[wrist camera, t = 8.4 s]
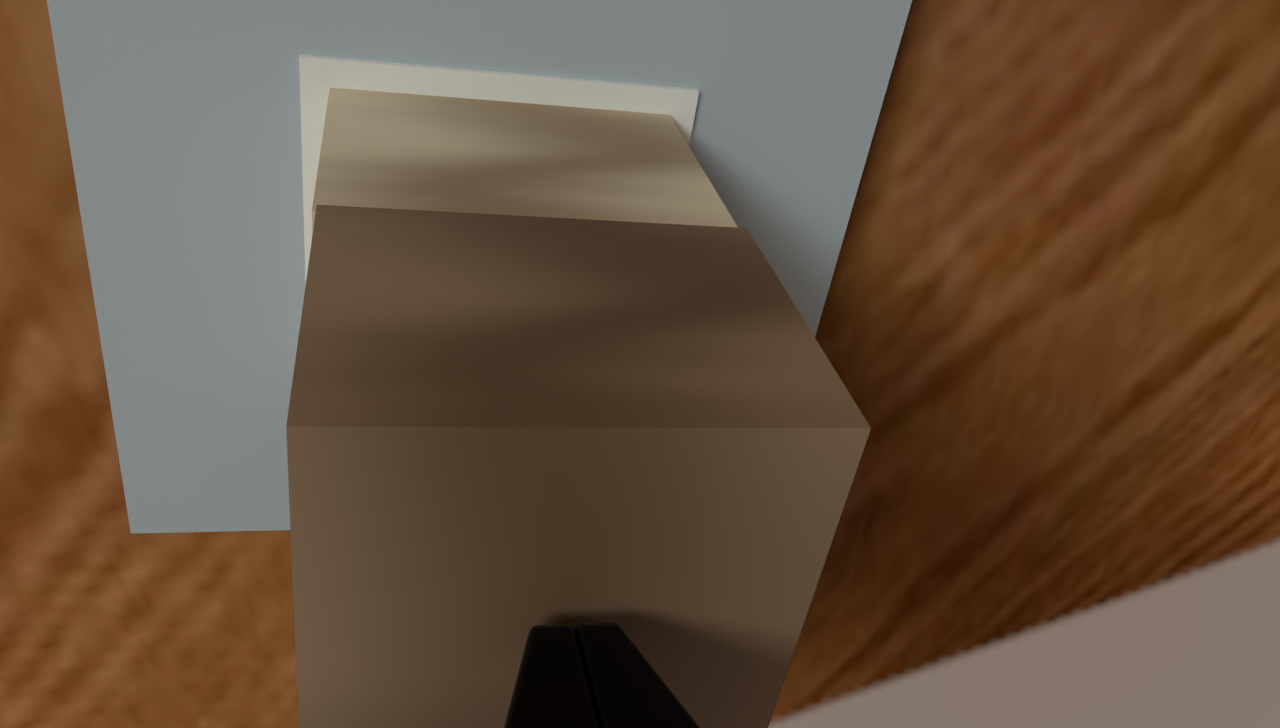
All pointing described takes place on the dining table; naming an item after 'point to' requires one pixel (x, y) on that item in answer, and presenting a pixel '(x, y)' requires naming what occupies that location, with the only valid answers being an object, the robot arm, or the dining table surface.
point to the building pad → (289, 157)
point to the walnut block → (552, 461)
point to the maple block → (509, 160)
